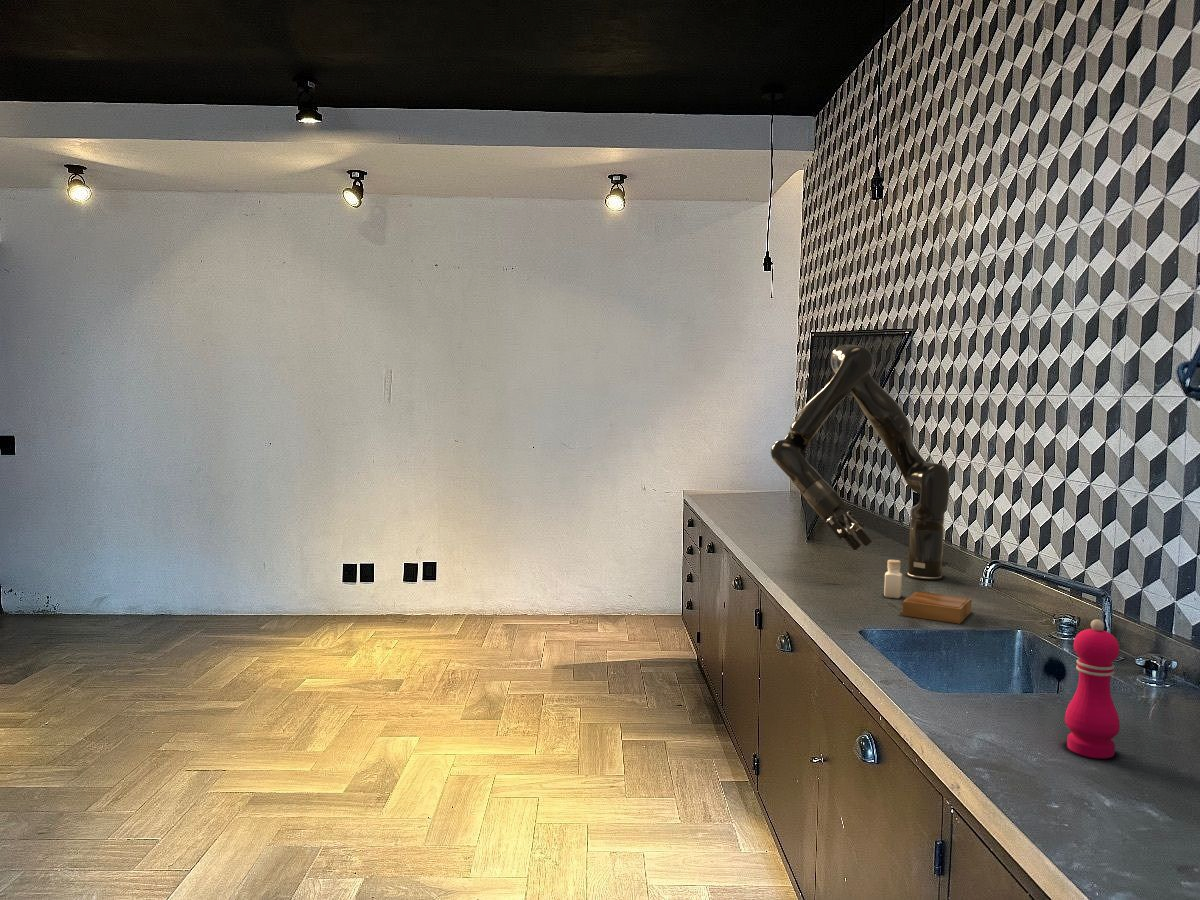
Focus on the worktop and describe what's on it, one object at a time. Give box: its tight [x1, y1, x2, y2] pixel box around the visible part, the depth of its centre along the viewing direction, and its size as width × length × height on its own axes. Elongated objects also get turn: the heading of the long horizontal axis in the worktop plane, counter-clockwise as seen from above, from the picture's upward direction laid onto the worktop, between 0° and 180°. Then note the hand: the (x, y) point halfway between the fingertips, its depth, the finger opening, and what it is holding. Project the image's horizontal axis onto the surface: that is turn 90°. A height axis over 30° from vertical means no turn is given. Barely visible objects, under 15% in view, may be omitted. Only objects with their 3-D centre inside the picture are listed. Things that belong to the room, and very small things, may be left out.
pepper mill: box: [1064, 618, 1121, 760], centre depth 135 cm, size 7×7×20 cm
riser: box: [902, 591, 972, 625], centre depth 219 cm, size 13×13×4 cm
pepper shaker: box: [883, 559, 903, 599], centre depth 236 cm, size 4×4×10 cm
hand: (863, 546), depth 240 cm, fingers open, 8 cm apart
